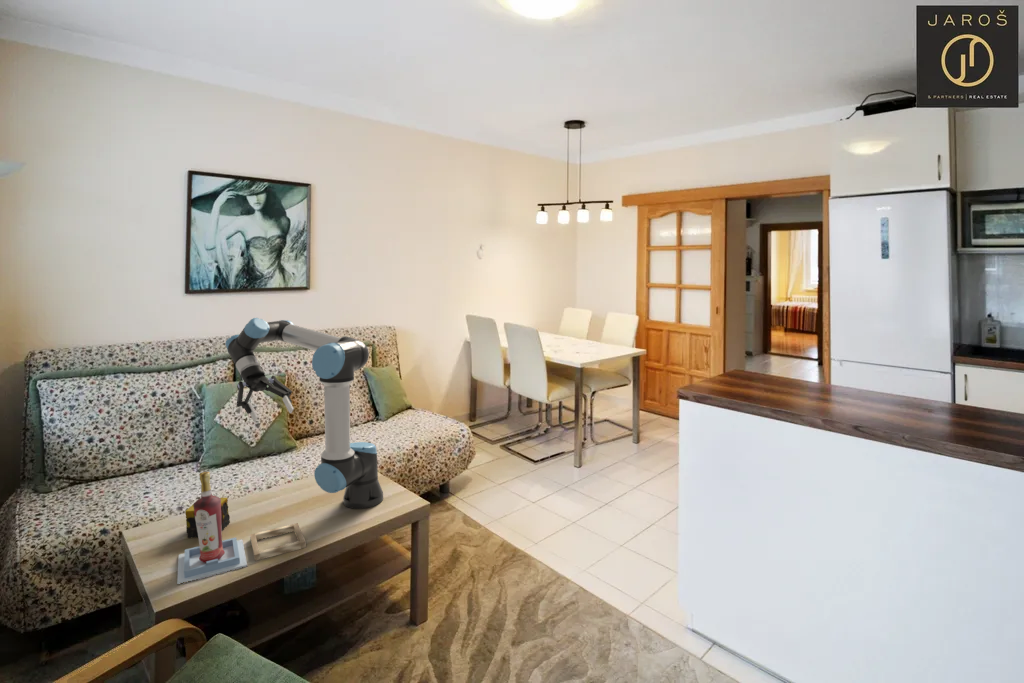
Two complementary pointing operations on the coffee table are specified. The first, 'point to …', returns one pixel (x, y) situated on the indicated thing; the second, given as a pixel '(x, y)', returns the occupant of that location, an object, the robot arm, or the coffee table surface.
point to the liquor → (208, 521)
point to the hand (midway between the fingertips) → (274, 415)
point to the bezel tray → (211, 561)
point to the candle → (191, 521)
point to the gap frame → (280, 549)
